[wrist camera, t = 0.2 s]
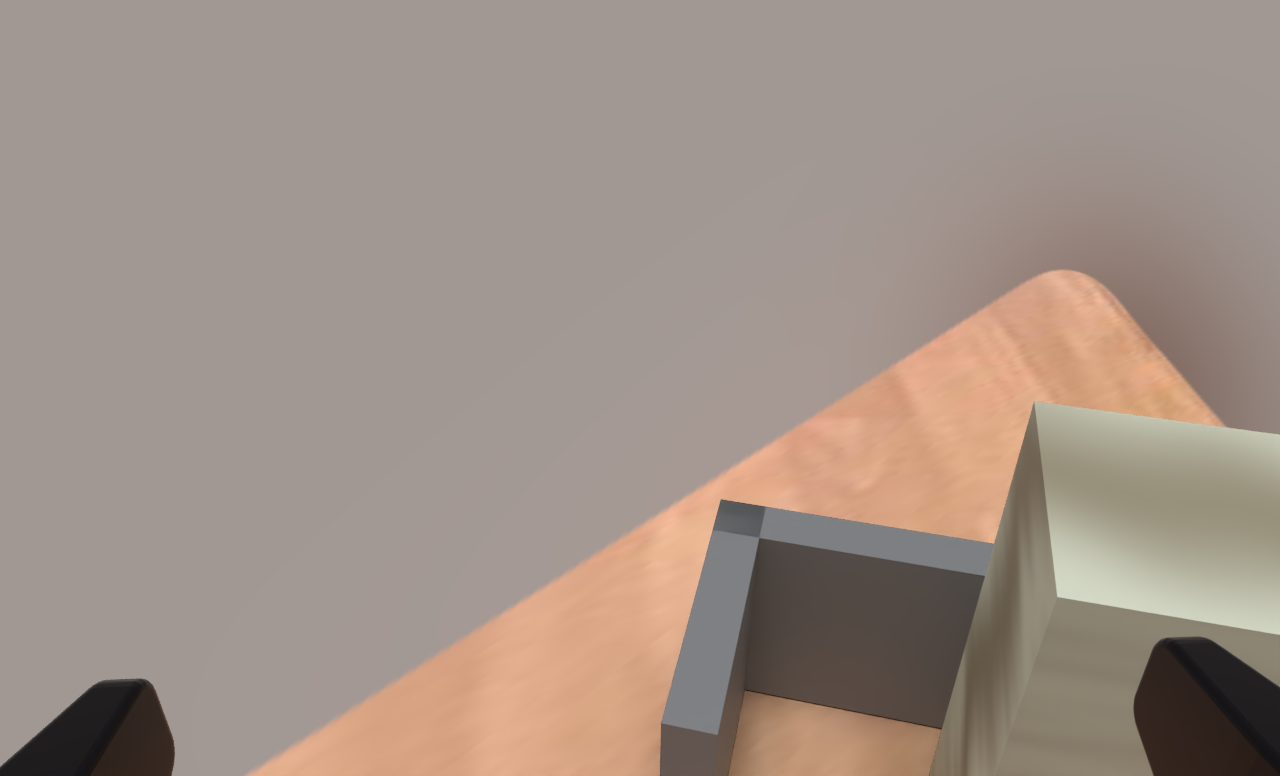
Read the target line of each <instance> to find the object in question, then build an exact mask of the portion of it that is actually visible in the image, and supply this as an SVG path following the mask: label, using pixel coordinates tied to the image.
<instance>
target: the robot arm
mask: <svg viewBox="0 0 1280 776" xmlns="http://www.w3.org/2000/svg"><path fill="white" fill-rule="evenodd" d="M1133 711H1134V719H1135V723H1136V727H1137V730H1138V733H1139V736H1140V739H1141V741H1142V744H1143V747H1144V750H1145V753H1146V756H1147V759H1148V762H1149V764H1150V767H1151V770H1152V773H1153V776H1280V687H1279V686H1278V685H1277V684H1275V683H1274V682H1272V681H1271V680H1269V679H1268V678H1266V677H1265V676H1263V675H1262V674H1261V673H1259V672H1258V671H1256V670H1255V669H1253V668H1252V667H1250V666H1249V665H1248V664H1246V663H1245V662H1243V661H1242V660H1240V659H1239V658H1237V657H1236V656H1235V655H1233V654H1232V653H1230V652H1229V651H1227V650H1226V649H1224V648H1223V647H1222V646H1220V645H1219V644H1217V643H1215V642H1214V641H1212V640H1210V639H1208V638H1205V637H1200V636H1193V637H1168V638H1163V639H1161V640H1159V641H1158V642H1157V643H1156V644H1155V645H1154V647H1153V649H1152V651H1151V654H1150V657H1149V659H1148V662H1147V665H1146V667H1145V670H1144V673H1143V675H1142V678H1141V681H1140V683H1139V686H1138V689H1137V691H1136V694H1135V697H1134V705H1133ZM174 757H175V747H174V740H173V737H172V734H171V731H170V729H169V726H168V723H167V720H166V718H165V715H164V712H163V709H162V707H161V704H160V701H159V699H158V696H157V693H156V691H155V689H154V687H153V685H152V684H151V683H150V682H149V681H147V680H145V679H118V680H117V679H116V680H104V681H101V682H98V683H97V684H95V685H93V686H92V687H91V688H89V689H88V690H87V691H86V692H85V693H83V694H82V695H81V696H80V697H79V698H78V699H77V700H76V701H74V702H73V703H72V704H71V705H70V706H69V707H68V708H66V709H65V710H64V711H63V712H62V713H61V714H60V715H58V716H57V717H56V718H55V719H54V720H53V721H52V722H51V723H49V724H48V725H47V726H46V727H45V728H44V729H43V730H42V731H40V732H39V733H38V734H37V735H36V736H35V737H33V738H32V739H31V740H30V741H29V742H28V743H27V744H25V745H24V747H22V748H21V749H20V750H19V751H18V752H17V753H15V754H14V755H13V756H12V757H11V758H10V759H8V760H7V761H6V762H5V763H4V764H3V765H2V766H1V767H0V776H172V771H173V766H174Z"/></svg>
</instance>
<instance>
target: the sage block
mask: <svg viewBox="0 0 1280 776" xmlns="http://www.w3.org/2000/svg"><path fill="white" fill-rule="evenodd" d="M1193 636H1200V637H1205V638H1208V639H1210V640H1212V641H1214V642H1215V643H1217V644H1219V645H1220V646H1222V647H1223V648H1224V649H1226V650H1227V651H1229V652H1230V653H1232V654H1233V655H1235V656H1236V657H1237V658H1239V659H1240V660H1242V661H1243V662H1245V663H1246V664H1248V665H1249V666H1250V667H1252V668H1253V669H1255V670H1256V671H1258V672H1259V673H1261V674H1262V675H1263V676H1265V677H1266V678H1268V679H1269V680H1271V681H1272V682H1274V683H1275V684H1277V685H1278V686H1279V687H1280V435H1277V434H1270V433H1262V432H1255V431H1247V430H1240V429H1233V428H1226V427H1218V426H1211V425H1204V424H1197V423H1189V422H1182V421H1175V420H1167V419H1160V418H1153V417H1145V416H1138V415H1131V414H1123V413H1116V412H1109V411H1101V410H1094V409H1087V408H1079V407H1072V406H1065V405H1057V404H1050V403H1043V402H1035V401H1034V404H1033V408H1032V411H1031V415H1030V419H1029V422H1028V426H1027V429H1026V433H1025V436H1024V440H1023V443H1022V447H1021V450H1020V454H1019V458H1018V461H1017V465H1016V468H1015V472H1014V475H1013V479H1012V482H1011V486H1010V489H1009V493H1008V497H1007V500H1006V504H1005V507H1004V511H1003V514H1002V518H1001V521H1000V525H999V528H998V532H997V536H996V539H995V543H994V546H993V550H992V553H991V557H990V560H989V564H988V567H987V571H986V575H985V578H984V582H983V585H982V589H981V592H980V596H979V599H978V603H977V606H976V610H975V614H974V617H973V621H972V624H971V628H970V631H969V635H968V638H967V642H966V645H965V649H964V653H963V656H962V660H961V663H960V667H959V670H958V674H957V677H956V681H955V684H954V688H953V692H952V695H951V699H950V702H949V706H948V709H947V713H946V716H945V720H944V723H943V727H942V731H941V734H940V738H939V741H938V745H937V748H936V752H935V755H934V759H933V762H932V766H931V770H930V773H929V776H1153V773H1152V770H1151V767H1150V764H1149V762H1148V759H1147V756H1146V753H1145V750H1144V747H1143V744H1142V741H1141V739H1140V736H1139V733H1138V730H1137V727H1136V723H1135V719H1134V711H1133V705H1134V697H1135V694H1136V691H1137V689H1138V686H1139V683H1140V681H1141V678H1142V675H1143V673H1144V670H1145V667H1146V665H1147V662H1148V659H1149V657H1150V654H1151V651H1152V649H1153V647H1154V645H1155V644H1156V643H1157V642H1158V641H1159V640H1161V639H1163V638H1168V637H1193Z"/></svg>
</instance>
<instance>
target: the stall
mask: <svg viewBox="0 0 1280 776" xmlns="http://www.w3.org/2000/svg"><path fill="white" fill-rule="evenodd" d="M993 546H994V544H992V543H986V542H980V541H973V540H967V539H961V538H955V537H949V536H943V535H936V534H930V533H924V532H918V531H912V530H906V529H900V528H893V527H887V526H881V525H875V524H869V523H863V522H856V521H850V520H844V519H838V518H832V517H826V516H820V515H813V514H807V513H801V512H795V511H789V510H783V509H776V508H770V507H764V506H758V505H752V504H746V503H740V502H733V501H727V500H721V501H720V505H719V508H718V512H717V516H716V520H715V523H714V527H713V531H712V535H711V538H710V542H709V546H708V550H707V553H706V557H705V561H704V565H703V568H702V572H701V576H700V580H699V583H698V587H697V591H696V595H695V598H694V602H693V606H692V610H691V613H690V617H689V621H688V625H687V628H686V632H685V636H684V640H683V643H682V647H681V651H680V655H679V658H678V662H677V666H676V670H675V673H674V677H673V681H672V685H671V688H670V692H669V696H668V700H667V703H666V707H665V711H664V715H663V718H662V722H661V753H660V776H728V772H729V767H730V762H731V757H732V752H733V747H734V742H735V736H736V731H737V726H738V721H739V716H740V711H741V706H742V701H743V695H744V690H750V691H755V692H760V693H765V694H770V695H775V696H781V697H786V698H791V699H796V700H801V701H806V702H811V703H816V704H821V705H826V706H831V707H836V708H841V709H846V710H851V711H856V712H862V713H867V714H872V715H877V716H882V717H887V718H892V719H897V720H902V721H907V722H912V723H917V724H922V725H927V726H932V727H938V728H942V727H943V723H944V720H945V716H946V713H947V709H948V706H949V702H950V699H951V695H952V692H953V688H954V684H955V681H956V677H957V674H958V670H959V667H960V663H961V660H962V656H963V653H964V649H965V645H966V642H967V638H968V635H969V631H970V628H971V624H972V621H973V617H974V614H975V610H976V606H977V603H978V599H979V596H980V592H981V589H982V585H983V582H984V578H985V575H986V571H987V567H988V564H989V560H990V557H991V553H992V550H993Z"/></svg>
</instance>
